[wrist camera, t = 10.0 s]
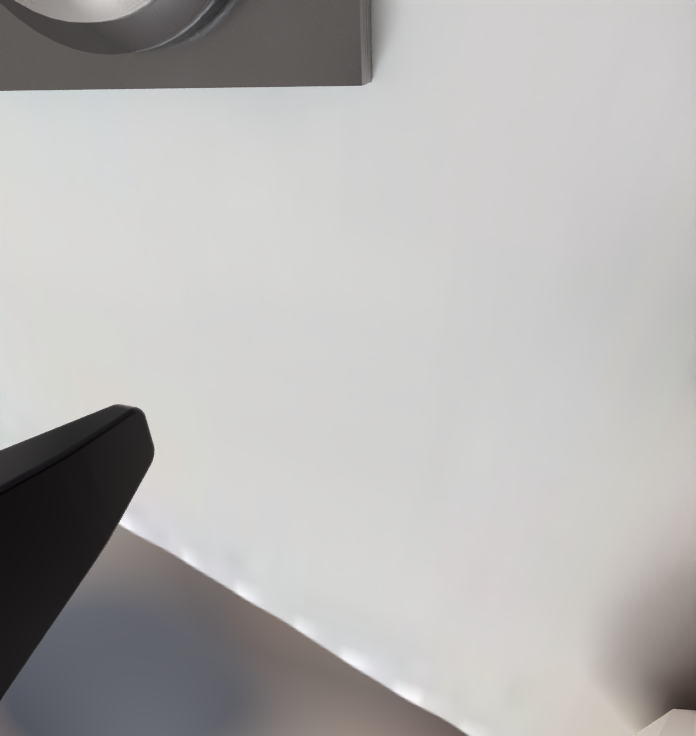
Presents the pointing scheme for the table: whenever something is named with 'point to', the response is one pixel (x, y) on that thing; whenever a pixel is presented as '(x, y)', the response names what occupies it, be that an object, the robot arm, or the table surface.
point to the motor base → (183, 44)
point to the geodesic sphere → (672, 724)
